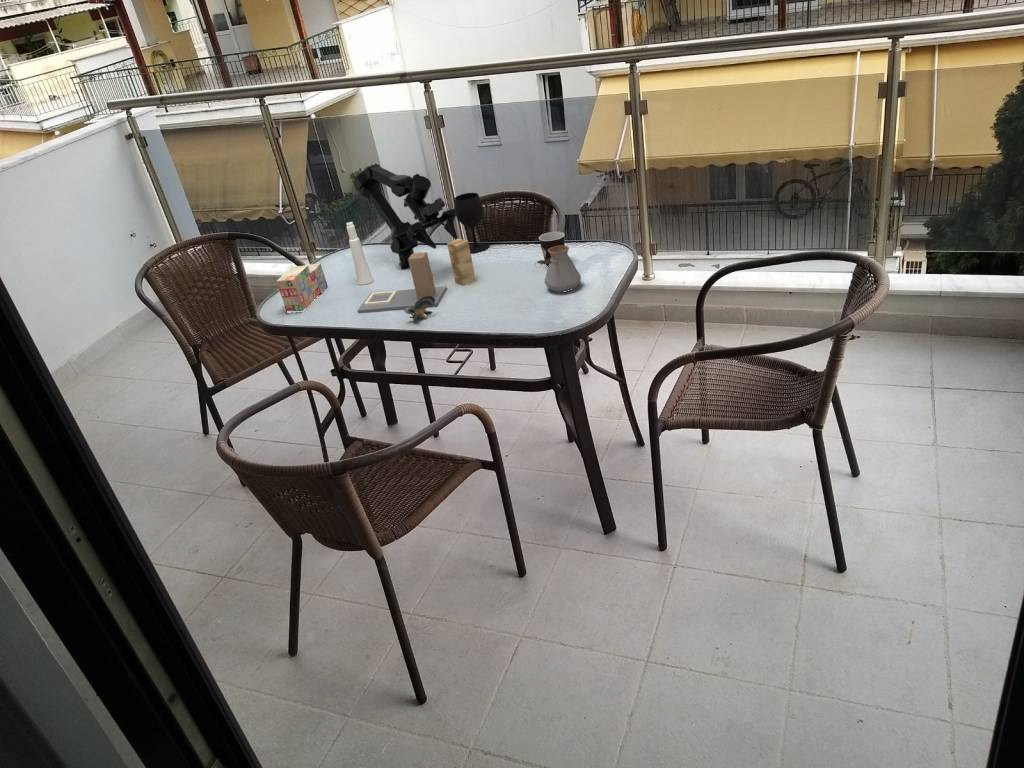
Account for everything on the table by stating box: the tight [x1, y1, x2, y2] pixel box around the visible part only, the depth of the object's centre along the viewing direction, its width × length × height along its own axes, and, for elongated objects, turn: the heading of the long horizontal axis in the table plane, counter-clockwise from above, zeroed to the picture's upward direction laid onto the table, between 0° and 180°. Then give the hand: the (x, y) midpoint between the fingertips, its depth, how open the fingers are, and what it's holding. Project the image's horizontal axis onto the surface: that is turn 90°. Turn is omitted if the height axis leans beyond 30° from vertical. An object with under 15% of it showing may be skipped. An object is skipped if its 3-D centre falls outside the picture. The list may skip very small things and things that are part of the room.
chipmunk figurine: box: [403, 296, 435, 324], centre depth 236 cm, size 8×7×9 cm
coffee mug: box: [538, 231, 566, 267], centre depth 258 cm, size 12×9×10 cm
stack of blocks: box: [276, 263, 329, 312], centre depth 264 cm, size 21×6×12 cm, turn 169°
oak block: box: [447, 238, 477, 286], centre depth 255 cm, size 5×5×14 cm
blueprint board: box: [356, 251, 448, 314], centre depth 249 cm, size 14×27×15 cm, turn 81°
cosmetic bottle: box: [346, 221, 375, 286], centre depth 269 cm, size 6×6×22 cm
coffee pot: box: [534, 245, 582, 293], centre depth 233 cm, size 21×12×15 cm, turn 154°
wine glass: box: [453, 192, 491, 255], centre depth 281 cm, size 10×10×20 cm
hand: (446, 243), depth 257 cm, fingers open, 9 cm apart
